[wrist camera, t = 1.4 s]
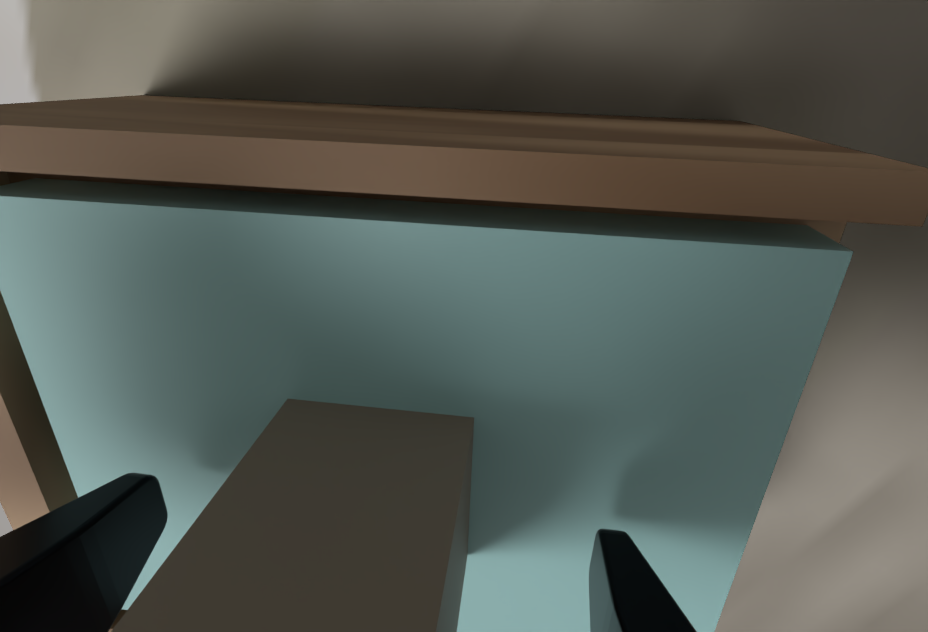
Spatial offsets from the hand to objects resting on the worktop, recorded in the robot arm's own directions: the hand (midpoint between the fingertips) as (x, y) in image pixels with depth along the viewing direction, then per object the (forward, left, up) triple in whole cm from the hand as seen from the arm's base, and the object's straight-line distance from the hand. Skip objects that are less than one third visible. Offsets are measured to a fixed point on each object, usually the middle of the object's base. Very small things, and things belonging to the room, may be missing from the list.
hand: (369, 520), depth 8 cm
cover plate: (0, 0, -2) cm, 2 cm away
